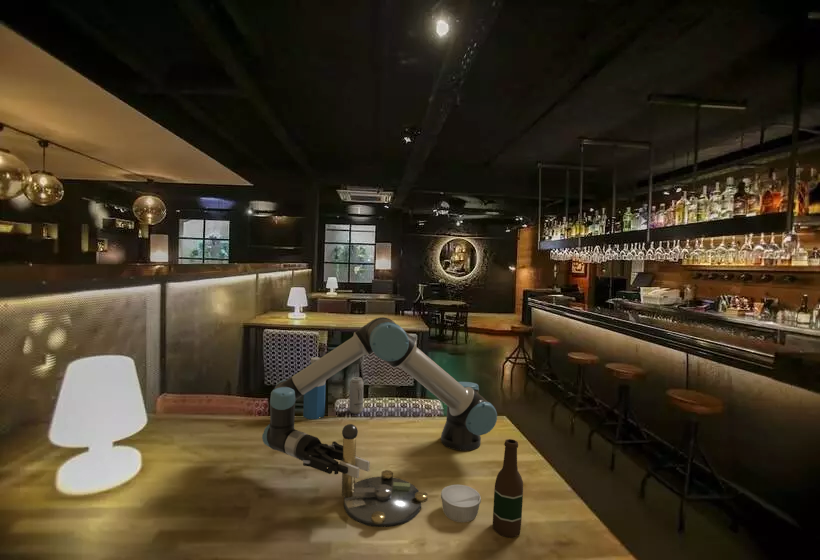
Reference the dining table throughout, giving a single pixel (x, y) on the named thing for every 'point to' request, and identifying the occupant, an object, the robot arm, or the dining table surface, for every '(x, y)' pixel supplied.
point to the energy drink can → (356, 395)
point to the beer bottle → (508, 494)
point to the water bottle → (315, 400)
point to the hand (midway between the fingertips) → (363, 469)
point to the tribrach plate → (385, 502)
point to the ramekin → (460, 502)
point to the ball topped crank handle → (349, 457)
